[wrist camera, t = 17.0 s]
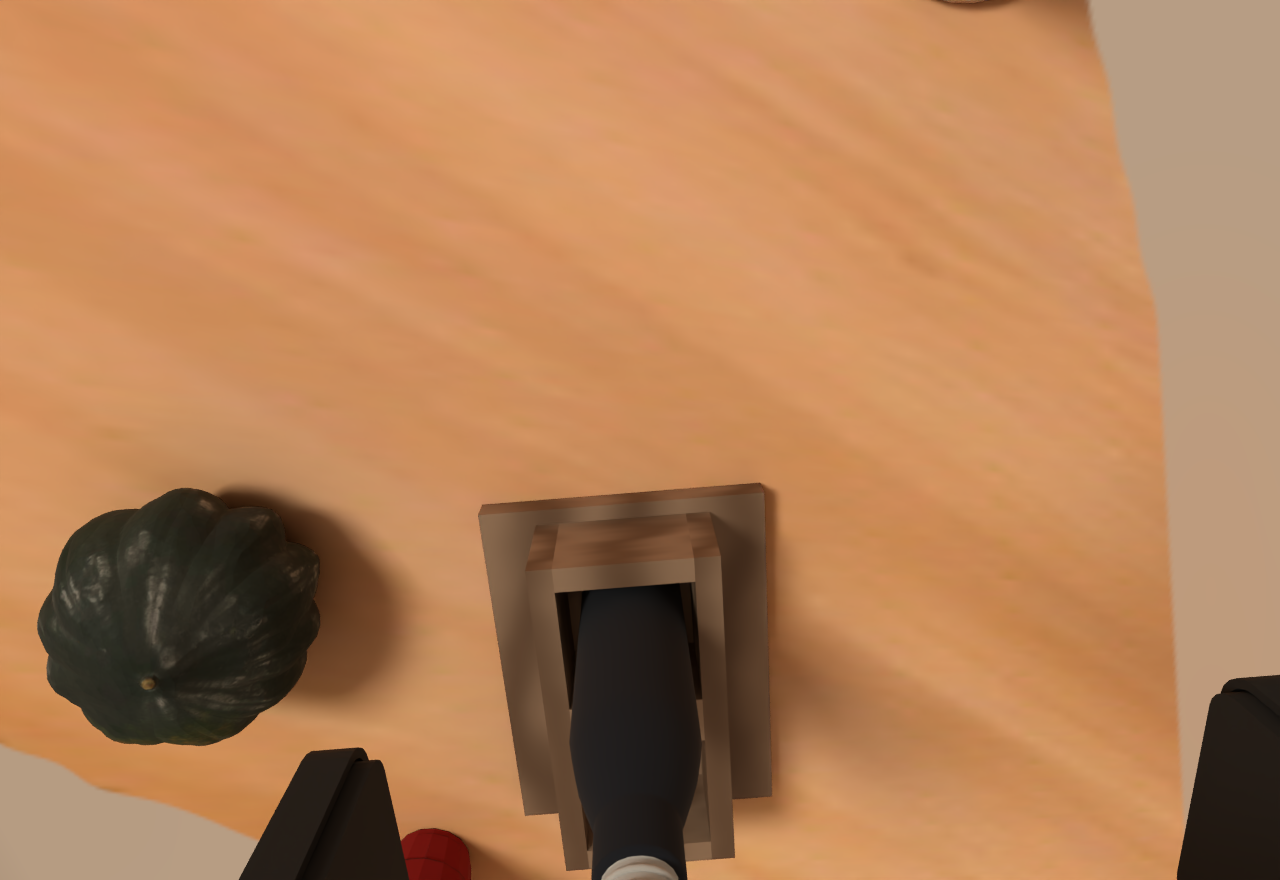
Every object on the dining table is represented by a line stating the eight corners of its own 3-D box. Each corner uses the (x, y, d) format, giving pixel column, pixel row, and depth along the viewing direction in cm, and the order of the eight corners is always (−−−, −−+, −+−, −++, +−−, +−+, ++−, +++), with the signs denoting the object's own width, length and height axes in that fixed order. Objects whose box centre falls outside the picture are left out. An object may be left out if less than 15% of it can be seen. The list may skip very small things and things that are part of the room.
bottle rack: (760, 482, 51) (782, 534, 44) (768, 780, 59) (788, 865, 52) (482, 504, 51) (460, 560, 44) (527, 799, 59) (514, 886, 52)
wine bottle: (683, 549, 51) (763, 1031, 23) (677, 635, 53) (744, 1175, 25) (583, 546, 51) (537, 1030, 22) (581, 633, 53) (537, 1176, 25)
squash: (23, 692, 49) (75, 856, 39) (13, 465, 45) (68, 584, 35) (264, 635, 59) (354, 754, 49) (274, 445, 55) (375, 533, 45)
